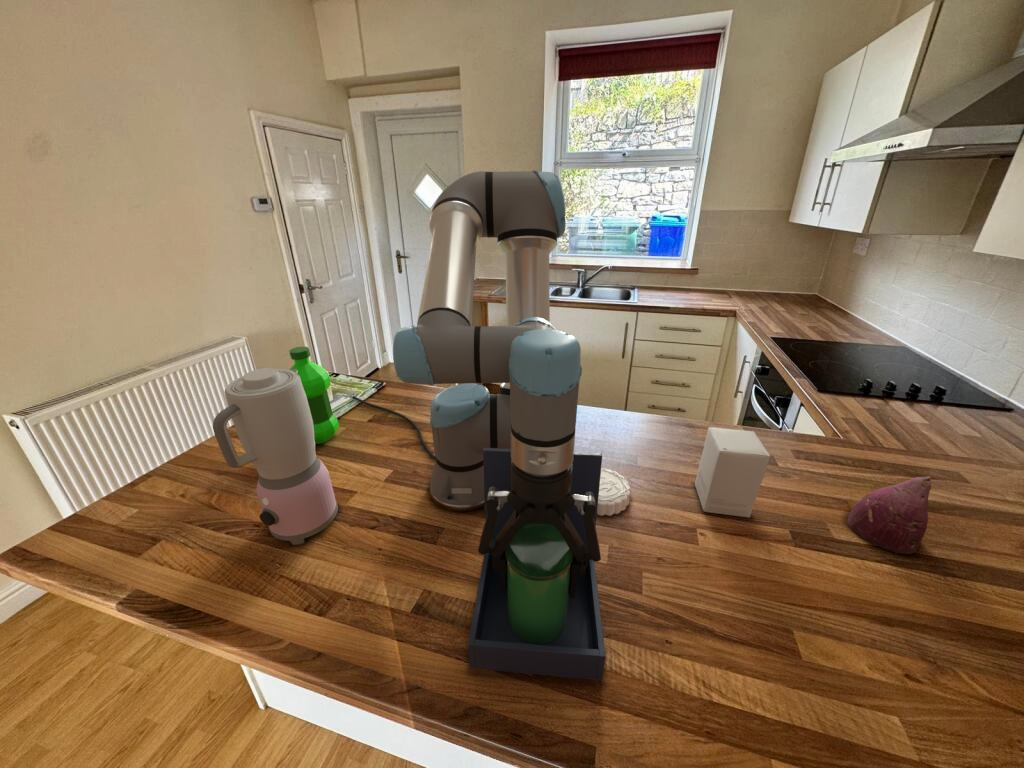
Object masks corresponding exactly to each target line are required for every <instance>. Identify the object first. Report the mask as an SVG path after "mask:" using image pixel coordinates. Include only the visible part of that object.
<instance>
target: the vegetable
mask: <svg viewBox="0 0 1024 768" xmlns="http://www.w3.org/2000/svg"><path fill="white" fill-rule="evenodd" d="M931 479H932V476H918V477H913V478H911V479H908V480H905V481H902V482H900V483H897V484H893V485H888V486H883V487H879V488H877V489H875V490H872V491H871V492H869V493H867V494H865V495H864V496H863V497H862V498H860V499H859V500H858V501H857V502H856V503H855V504H854V505H853V507H852V508H851V509H850V512H849V515H848V518H847V525H848V527H849V528H850V529H851V530H852V531H853V532H854V533H855V534H857V535H858V536H859V537H860V538H862V539H863V540H865V541H867V542H869V543H871V544H873V545H874V546H876V547H879V548H882V549H885V550H887V551H890V552H893V553H897V554H900V555H901V554H902V555H911V554H914V553H916V551H917V550H918V547H919V546H920V544H921V542H922V541H923V538H924V535H925V533H926V531H927V528H928V522H929V512H928V509H929V508H928V506H929V505H928V504H929V495H930V491H931V489H932V481H931Z"/></svg>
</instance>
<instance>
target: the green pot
mask: <svg viewBox="0 0 1024 768" xmlns="http://www.w3.org/2000/svg"><path fill="white" fill-rule="evenodd" d="M573 556H574V555H573V553H572V552H571V550H570V548H569V547H568V545H567V543H566V542H565V540H564V538H563V537H562V535H561V533H560V532H558V531H557V530H556V528H555V526H554V525H551V524H545V523H541V522H538V523H527V524H525V525H524V527H523V528H522V529H520V530H519V531H518V533H517V534H516V535H515V537H514V538H513V540H512V541H511V542H510V544H509V545H508V547H507V548H506V549H505V557H506V572H507V618H508V623H509V625H510V627H511V629H512V631H513V632H514V633H515V634H516V635H517V636H518V637H519V638H520V639H522V640H524V641H526V642H528V643H532V644H545V643H549V642H551V641H553V640H555V639H556V638H557V637H559V635H560V634H561V633H562V632H563V630H564V628H565V625H566V621H567V610H568V598H569V586H570V574H571V564H572V561H573Z"/></svg>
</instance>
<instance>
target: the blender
mask: <svg viewBox="0 0 1024 768" xmlns="http://www.w3.org/2000/svg"><path fill="white" fill-rule="evenodd" d="M297 373H298V370H296V369H290V368H289V369H285V368H272V367H267V368H266V367H263V368H258V369H253V370H251V371H248V372H246V373H245V374H243V375H242V376H240V377H238V378H235V379H234V380H232V381H231V382H229V383H228V384H227V385H226V387H225V389H224V395H225V399H226V403H227V407H225V408H223V409H222V410H220V411H219V412H218V413H217V414H216V416H214V419H213V422H212V430H213V433H214V436H215V439H216V442H217V444H218V447H219V449H220V451H221V453H222V456H223V458H224V460H225V462H226V464H227V466H228V467H229V468H233V469H239V468H243V467H244V466H247V465H248V464H252V465H253V467H254V468H255V470H256V471H257V473H258V480H257V483H256V496H257V500H258V503H259V505H260V508H261V513H260V514H259V520H260V521H261V523H262V524H264V525H265V526H267V527H268V529H269V532H270V534H271V536H273V538H275V539H277V540H280V541H285V542H286V541H287V542H290V543H291V545H292V546H296V545H303V544H305V542H306V541H305V539H307V538H309V537H312V536H314V535H316V534H318V533H320V532H321V531H323V530H324V529H325V528H327V527H328V526H329V525H330V524H331V523H332V522H333V521H334V519H335V518H336V516H337V514H338V512H339V505H338V501H337V499H336V496H335V492H334V488H333V483H332V479H331V476H330V472H329V470H328V467H326V465H325V464H324V462H323V461H322V460H321V459H319V458H318V456H317V453H316V443H315V438H314V426H313V420H312V416H311V412H310V408H309V404H308V400H307V397H306V394H305V391H304V388H303V385H302V382H301V379H300V376H299V375H298V374H297ZM230 420H232V424H233V426H234V429H235V431H236V435H237V438H238V440H239V441H240V444H241V446H242V448H243V450H244V452H245V453H244V454H241V455H238V453H237V450H236V447H235V445H234V443H233V440H232V437H231V435H230V432H229V430H228V423H229V421H230Z"/></svg>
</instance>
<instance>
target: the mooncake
mask: <svg viewBox="0 0 1024 768" xmlns="http://www.w3.org/2000/svg"><path fill="white" fill-rule="evenodd" d="M631 491H632V489H631V486H630V482H629V480H626V478H625V476H623V475H621V474H620V473H619V472H617V471H614V470H612V469H610V468H604V467H601V475H600V486H599V496H598V507H597V516H605V515H606V516H607V517H608V516H609V517H610V516H612V515H618V514H620V513H621V512H623V511H625V510H626V509H627V507H628V506H629V504H630V499H631Z"/></svg>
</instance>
